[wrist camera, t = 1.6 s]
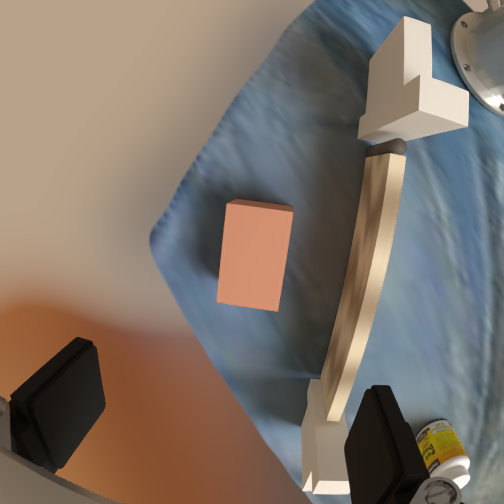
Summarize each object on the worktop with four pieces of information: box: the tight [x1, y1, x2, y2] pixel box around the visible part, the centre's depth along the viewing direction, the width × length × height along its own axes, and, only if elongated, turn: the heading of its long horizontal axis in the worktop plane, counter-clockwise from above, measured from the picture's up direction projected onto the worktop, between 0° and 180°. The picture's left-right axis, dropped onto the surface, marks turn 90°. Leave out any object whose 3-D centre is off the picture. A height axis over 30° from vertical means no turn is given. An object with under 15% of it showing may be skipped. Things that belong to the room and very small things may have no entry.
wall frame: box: [301, 16, 469, 494], centre depth 22 cm, size 40×3×14 cm, turn 173°
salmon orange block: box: [217, 199, 293, 312], centre depth 27 cm, size 8×5×5 cm, turn 173°
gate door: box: [320, 138, 407, 422], centre depth 26 cm, size 24×1×7 cm, turn 173°
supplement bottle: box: [416, 420, 470, 489], centre depth 28 cm, size 6×6×10 cm
